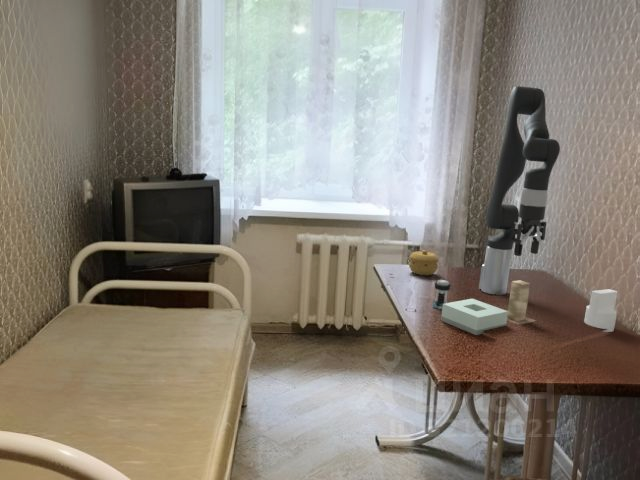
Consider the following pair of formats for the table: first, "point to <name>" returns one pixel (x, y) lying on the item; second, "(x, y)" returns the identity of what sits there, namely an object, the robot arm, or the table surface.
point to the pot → (423, 262)
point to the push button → (441, 293)
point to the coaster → (521, 320)
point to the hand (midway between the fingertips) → (525, 254)
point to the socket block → (473, 316)
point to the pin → (518, 300)
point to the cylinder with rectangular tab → (602, 310)
